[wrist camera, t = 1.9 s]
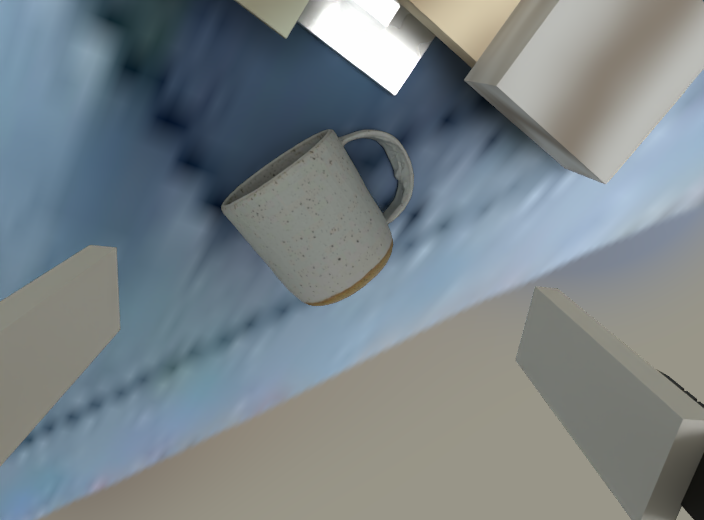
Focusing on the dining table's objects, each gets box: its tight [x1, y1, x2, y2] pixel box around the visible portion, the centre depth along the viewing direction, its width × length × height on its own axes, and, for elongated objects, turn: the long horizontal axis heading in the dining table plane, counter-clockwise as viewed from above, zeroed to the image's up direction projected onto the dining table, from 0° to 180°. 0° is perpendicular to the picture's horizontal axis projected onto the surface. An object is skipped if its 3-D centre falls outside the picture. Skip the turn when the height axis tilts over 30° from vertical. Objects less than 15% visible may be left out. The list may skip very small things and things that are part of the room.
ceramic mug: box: [221, 129, 414, 306], centre depth 27 cm, size 11×8×8 cm
